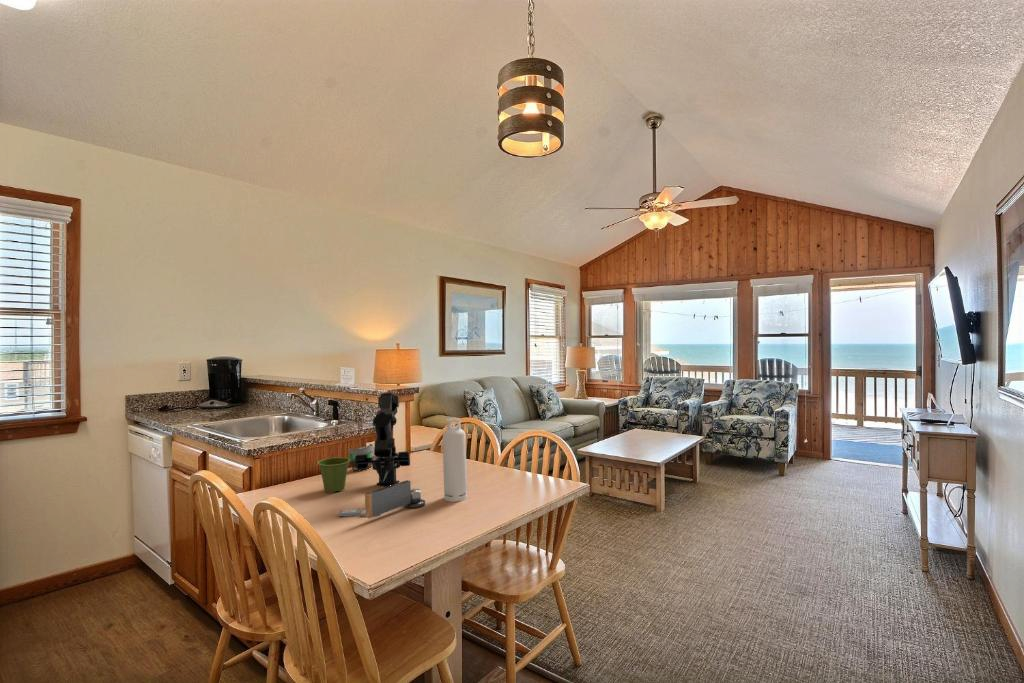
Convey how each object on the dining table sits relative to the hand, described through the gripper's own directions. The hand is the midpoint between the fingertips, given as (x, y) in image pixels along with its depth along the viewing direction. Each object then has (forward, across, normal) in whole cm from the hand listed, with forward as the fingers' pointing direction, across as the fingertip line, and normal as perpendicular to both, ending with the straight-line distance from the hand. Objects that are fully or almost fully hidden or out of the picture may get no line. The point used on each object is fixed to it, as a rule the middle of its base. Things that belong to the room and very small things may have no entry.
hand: (382, 481), depth 171 cm
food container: (-30, -12, +43) cm, 54 cm away
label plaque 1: (+10, -10, +1) cm, 14 cm away
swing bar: (+11, +4, -1) cm, 12 cm away
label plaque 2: (+11, -3, 0) cm, 12 cm away
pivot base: (+8, +11, +4) cm, 14 cm away
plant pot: (-10, -20, +22) cm, 31 cm away
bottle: (+5, +25, +7) cm, 26 cm away
